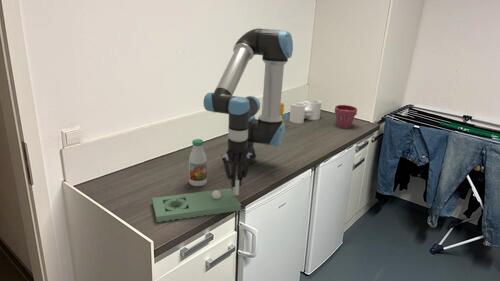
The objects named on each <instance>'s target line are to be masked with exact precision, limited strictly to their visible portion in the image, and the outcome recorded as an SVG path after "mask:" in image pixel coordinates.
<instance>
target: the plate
mask: <svg viewBox="0 0 500 281" xmlns="http://www.w3.org/2000/svg"><path fill="white" fill-rule="evenodd" d="M215 190H216V189H214V190H213V189H211V190H206V191H198V192H191V193H190V192H189V193H183V194H181V193H180V194H175V195H166V196H158V197H152V200H151V201H152V206H153V211H154V216H155V220H156V223H157V222H159V223H163V222H162V221H166V222H170V221H169V220H172V221H176V220H175V219H179V220H184V219H183V218H186V219H191V217H193V218H198V217H197V216H199V217H205V216H204V215H206V216H211V215H212V214H213V215H219V214H225V213H226V214H227V213H232V212H239V211H240V212H241V210H242V204H241V203H240V201H239V199H238V198H237V197H236V196H237V195H235V194H234V193H233V189H232V188H230V187H229V188H222V189H217V190H218V191H220V193H221V197H220V198H219V199H214V198H213V197H212V192H213V191H215Z"/></svg>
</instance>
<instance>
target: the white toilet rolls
mask: <svg viewBox="0 0 500 281" xmlns="http://www.w3.org/2000/svg"><path fill="white" fill-rule="evenodd" d="M321 107H322V101H321V100H319V99H314V98H313V99H311V102H310V101H308V100H305V101H299V102H298V101H297V103H296V104H293V103H290V112H289V122H291V123H294V124H304V120H305V119H306V120H309V121H318V120H320V117H321Z"/></svg>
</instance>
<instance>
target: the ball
mask: <svg viewBox="0 0 500 281" xmlns="http://www.w3.org/2000/svg"><path fill="white" fill-rule="evenodd" d="M214 190H215V191H213V192H212V197H213V198H214V199H219V198H220V197H221V193H220V191H218V190H219V189H214Z"/></svg>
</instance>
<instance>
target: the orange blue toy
mask: <svg viewBox="0 0 500 281" xmlns="http://www.w3.org/2000/svg"><path fill="white" fill-rule="evenodd" d="M284 110H285V104H284V103H282V102H281V105H280V116H281V118H282V123H284V124H285V122H287V121H289V120H290V117H289V114H288V113H287V112H284Z"/></svg>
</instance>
